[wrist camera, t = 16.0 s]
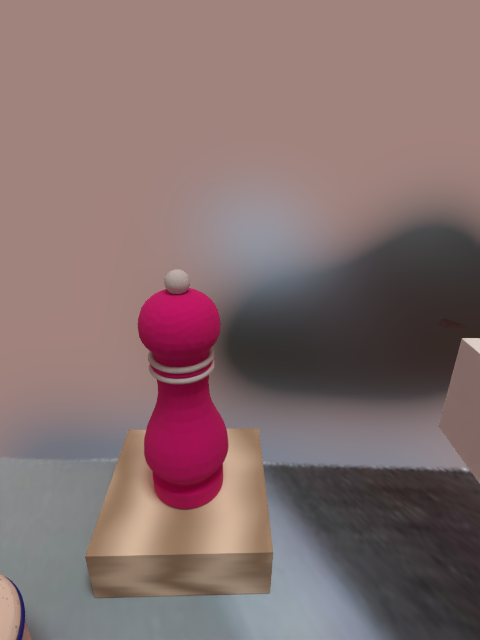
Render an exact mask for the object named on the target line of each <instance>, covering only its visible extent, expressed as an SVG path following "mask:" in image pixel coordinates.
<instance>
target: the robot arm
mask: <svg viewBox="0 0 480 640" xmlns="http://www.w3.org/2000/svg"><path fill="white" fill-rule="evenodd" d="M439 427H440V429H441V430H442V432H443V433H444V434H445V436H446V437H447V439H448V440H449V441H450V443H451V444H452V446H453V447H454V448H455V450H456V451H457V453H458V454H459V455H460V457H461V458H462V460H463V461H464V462H465V464H466V465H467V467H468V468H469V469H470V471H471V472H472V474H473V475H474V476H475V478H476V479H477V481H478V482H479V483H480V338H467V339H466V338H462V341H461V344H460V348H459V352H458V356H457V359H456V363H455V367H454V371H453V374H452V378H451V382H450V386H449V389H448V393H447V397H446V400H445V404H444V408H443V412H442V416H441V419H440V423H439Z"/></svg>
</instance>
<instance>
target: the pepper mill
mask: <svg viewBox="0 0 480 640" xmlns="http://www.w3.org/2000/svg"><path fill="white" fill-rule="evenodd" d="M189 286H190V279H189V276H188V275H187V274H186V273H185V272H184V271H182V270H177V269H176V270H173V271H170V272H169V273H168V274H167V275H166V277H165V287H166V289H165V290H162V291H160V292H158V293H156V294H154V295H153V296H151V297H150V298H149V299H148V300H147V301H146V302H145V303H144V305H143V306H142V308H141V311H140V315H139V318H138V331H139V337H140V339H141V341H142V343H143V344H144V345H145V347H146V348H147V349H149V350H150V352H149V354H148V360H149V363H150V365H149V371H150V373H151V374H152V376H153V377H154V378H156V379H157V382H158V398H157V403H156V406H155V408H154V411H153V413H152V416H151V418H150V420H149V423H148V425H147V429H146V433H145V437H144V456H145V460H146V462H147V464H148V466H149V468H150V469H151V470H152V471H153V483H154V489H155V492H156V494H157V496H158V497H159V499H160V500H161V501H162V502H164V503H165V504H167V505H169V506H171V507H174V508H179V509H192V508H196V507H200V506H202V505H204V504H206V503H208V502H209V501H211V500H212V499H213V498H214V497H215V496H216V495H217V494H218V492H219V491H220V489H221V487H222V484H223V462H224V461H225V458H226V456H227V453H228V447H229V444H228V435H227V429H226V427H225V424H224V421H223V419H222V417H221V416H220V414H219V412H218V411H217V409H216V407H215V406H214V404H213V402H212V400H211V397H210V393H209V384H208V379H209V374H210V373H211V372H212V371H213V368H214V365H215V363H214V359H213V358H214V350H213V348H212V346H213V345H214V344H215V342H216V341H217V338H218V336H219V334H220V325H221V324H220V317H219V313H218V309H217V308H216V306H215V305H214V303H213V302H212V300H211V299H210V298H209V297H208V296H206V295H205V294H204V293H202V292H199V291H197V290H195V289H190V288H189Z"/></svg>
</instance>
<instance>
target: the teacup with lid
mask: <svg viewBox="0 0 480 640" xmlns="http://www.w3.org/2000/svg"><path fill="white" fill-rule="evenodd" d="M0 640H32V638H31V635H30V633H29V630H28V627H27V624H26V622H25V608H24V602H23V599H22V596H21V593H20V591H19V590H18V588H17V587H16V585H15V584H14V583H13V582H12V581H11V580H10V579H8V578H7V577H5V576H3V575H2V574H0Z"/></svg>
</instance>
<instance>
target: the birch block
mask: <svg viewBox="0 0 480 640" xmlns="http://www.w3.org/2000/svg"><path fill="white" fill-rule="evenodd" d="M145 433H146V430H128V433H127V436H126V439H125V442H124V445H123V448H122V450H121V453H120V456H119V459H118V462H117V465H116V468H115V471H114V474H113V477H112V480H111V482H110V485H109V488H108V491H107V494H106V497H105V500H104V503H103V506H102V509H101V512H100V515H99V518H98V521H97V523H96V526H95V529H94V532H93V535H92V538H91V541H90V544H89V547H88V550H87V553H86V556H85V558H86V562H87V567H88V571H89V575H90V580H91V584H92V588H93V593H94V597H95V598H108V597H146V596H184V595H222V594H261V593H270V586H271V573H272V560H273V547H272V539H271V530H270V521H269V513H268V504H267V496H266V487H265V478H264V470H263V461H262V452H261V444H260V436H259V429H258V428H256V429H255V428H251V429H249V428H248V429H227V435H228V444H229V447H228V453H227V456H226V458H225V461H224V462H223V484H222V487H221V489H220V491H219V492H218V494H217V495H216V496H215V497H214V498H213V499H212V500H211V501H209V502H208V503H206V504H204V505H202V506H200V507H196V508H192V509H179V508H174V507H171V506H169V505H167V504H165V503H164V502H162V501H161V500H160V499H159V497H158V496H157V494H156V492H155V489H154V483H153V471H152V470H151V469H150V468H149V466H148V464H147V462H146V460H145V456H144V437H145Z"/></svg>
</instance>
